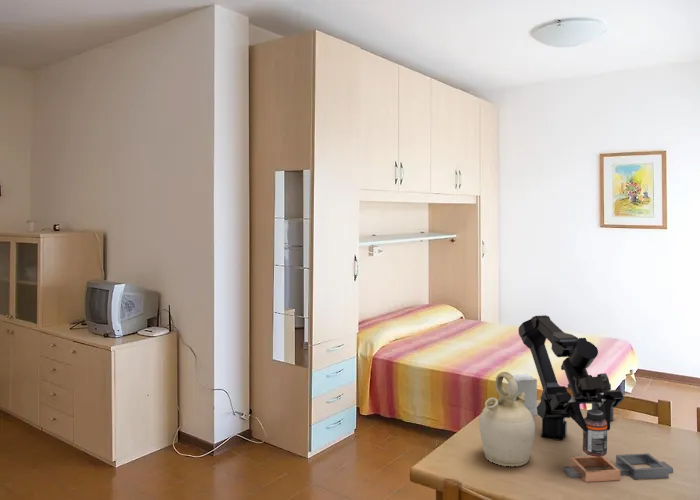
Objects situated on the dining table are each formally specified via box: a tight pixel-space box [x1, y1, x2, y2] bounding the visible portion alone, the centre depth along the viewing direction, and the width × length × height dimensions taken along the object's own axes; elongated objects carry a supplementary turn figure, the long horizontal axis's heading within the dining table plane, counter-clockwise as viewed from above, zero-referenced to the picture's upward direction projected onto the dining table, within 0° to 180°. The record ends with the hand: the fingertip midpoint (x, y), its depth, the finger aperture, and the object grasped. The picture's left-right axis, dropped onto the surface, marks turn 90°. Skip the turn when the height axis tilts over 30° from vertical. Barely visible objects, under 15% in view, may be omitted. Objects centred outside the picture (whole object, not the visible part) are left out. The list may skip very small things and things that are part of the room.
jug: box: [478, 371, 536, 468], centre depth 162 cm, size 15×16×25 cm
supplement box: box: [507, 373, 538, 417], centre depth 197 cm, size 7×7×13 cm
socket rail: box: [563, 452, 674, 483], centre depth 152 cm, size 28×9×2 cm, turn 93°
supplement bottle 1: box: [591, 382, 615, 422], centre depth 190 cm, size 7×7×12 cm
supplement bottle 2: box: [582, 408, 608, 457], centre depth 151 cm, size 6×6×11 cm
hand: (597, 430), depth 150 cm, fingers closed on supplement bottle 2, 6 cm apart
